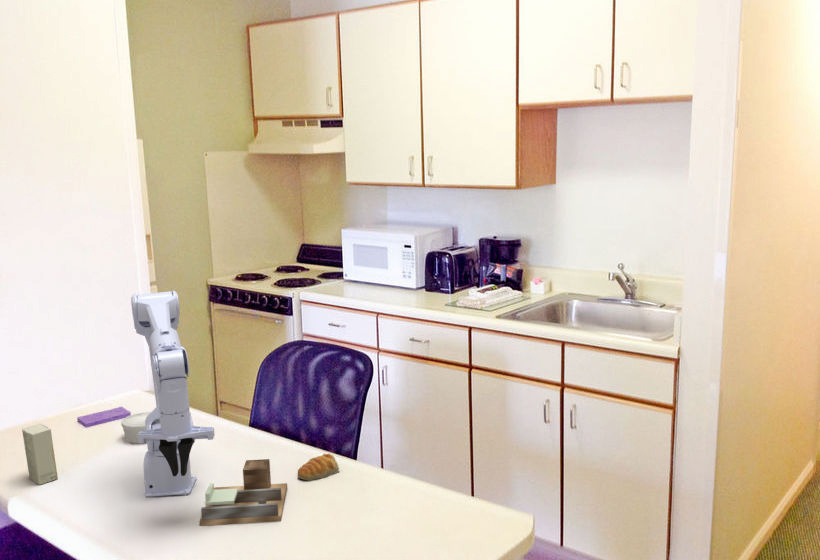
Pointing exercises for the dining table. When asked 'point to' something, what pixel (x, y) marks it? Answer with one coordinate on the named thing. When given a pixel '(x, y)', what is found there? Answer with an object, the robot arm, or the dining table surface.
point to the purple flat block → (103, 417)
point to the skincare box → (40, 454)
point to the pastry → (318, 467)
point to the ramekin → (134, 426)
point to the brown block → (257, 474)
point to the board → (247, 506)
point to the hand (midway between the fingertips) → (179, 473)
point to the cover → (220, 495)
